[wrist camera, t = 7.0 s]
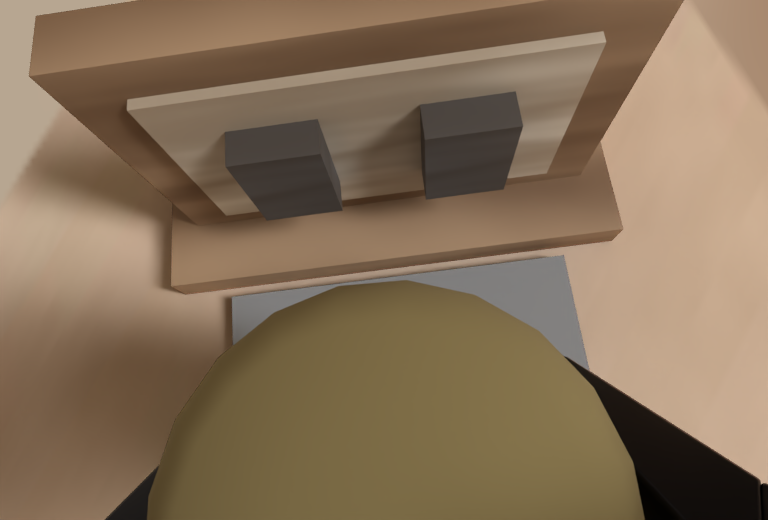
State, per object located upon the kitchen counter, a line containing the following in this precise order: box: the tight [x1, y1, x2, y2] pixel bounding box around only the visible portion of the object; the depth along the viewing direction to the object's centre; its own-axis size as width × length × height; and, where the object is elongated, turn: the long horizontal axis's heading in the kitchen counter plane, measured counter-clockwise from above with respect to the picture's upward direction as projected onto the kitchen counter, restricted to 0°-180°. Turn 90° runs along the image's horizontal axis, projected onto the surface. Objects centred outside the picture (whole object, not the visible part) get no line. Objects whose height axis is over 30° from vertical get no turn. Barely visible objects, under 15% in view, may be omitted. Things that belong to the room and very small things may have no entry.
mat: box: [232, 255, 589, 370], centre depth 18 cm, size 12×12×1 cm
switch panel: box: [29, 0, 684, 294], centre depth 16 cm, size 6×16×10 cm, turn 96°
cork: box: [147, 280, 645, 520], centre depth 10 cm, size 6×6×11 cm
